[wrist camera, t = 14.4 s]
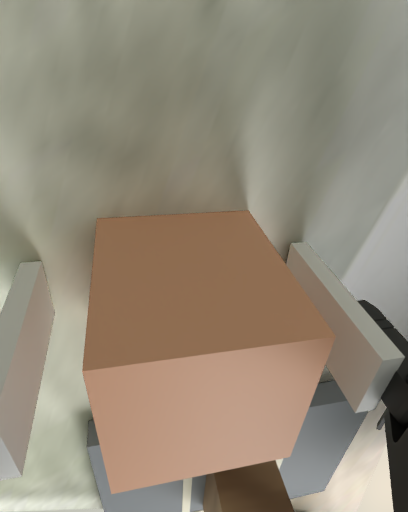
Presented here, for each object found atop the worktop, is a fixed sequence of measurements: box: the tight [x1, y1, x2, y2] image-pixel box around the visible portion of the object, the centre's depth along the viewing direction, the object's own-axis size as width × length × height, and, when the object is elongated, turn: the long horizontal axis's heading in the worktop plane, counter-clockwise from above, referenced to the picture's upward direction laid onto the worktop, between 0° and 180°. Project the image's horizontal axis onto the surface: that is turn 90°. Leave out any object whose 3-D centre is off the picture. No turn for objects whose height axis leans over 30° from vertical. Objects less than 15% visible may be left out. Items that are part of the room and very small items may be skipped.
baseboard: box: [87, 381, 368, 512], centre depth 25 cm, size 18×14×2 cm
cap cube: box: [82, 210, 336, 494], centre depth 12 cm, size 6×6×7 cm
